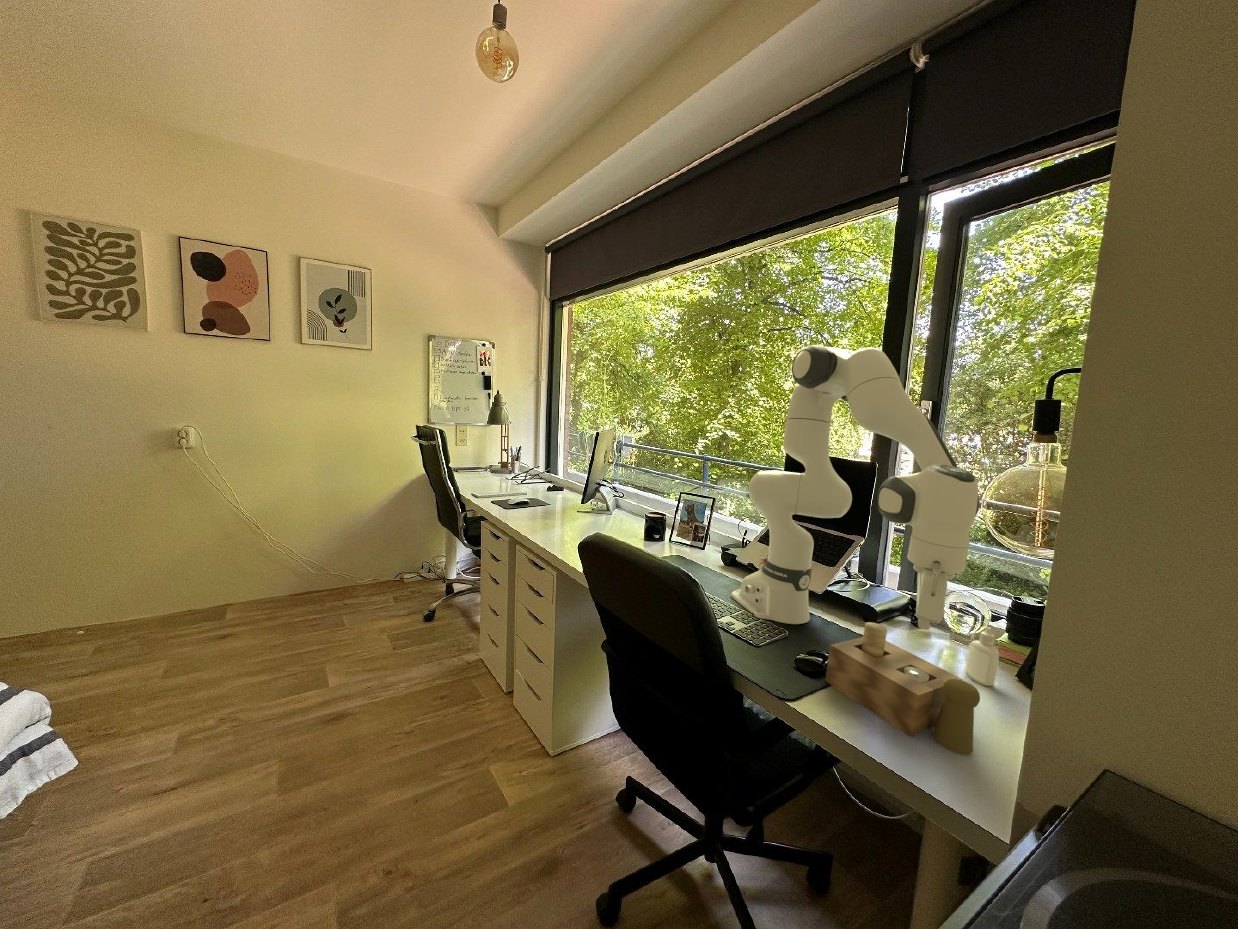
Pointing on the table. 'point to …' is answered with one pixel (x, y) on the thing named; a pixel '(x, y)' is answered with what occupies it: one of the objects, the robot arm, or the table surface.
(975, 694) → the cork
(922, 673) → the grey metal peg
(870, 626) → the beech peg
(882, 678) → the socket block
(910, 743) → the table surface
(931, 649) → the table surface
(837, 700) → the table surface
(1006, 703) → the table surface
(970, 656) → the eye dropper bottle
